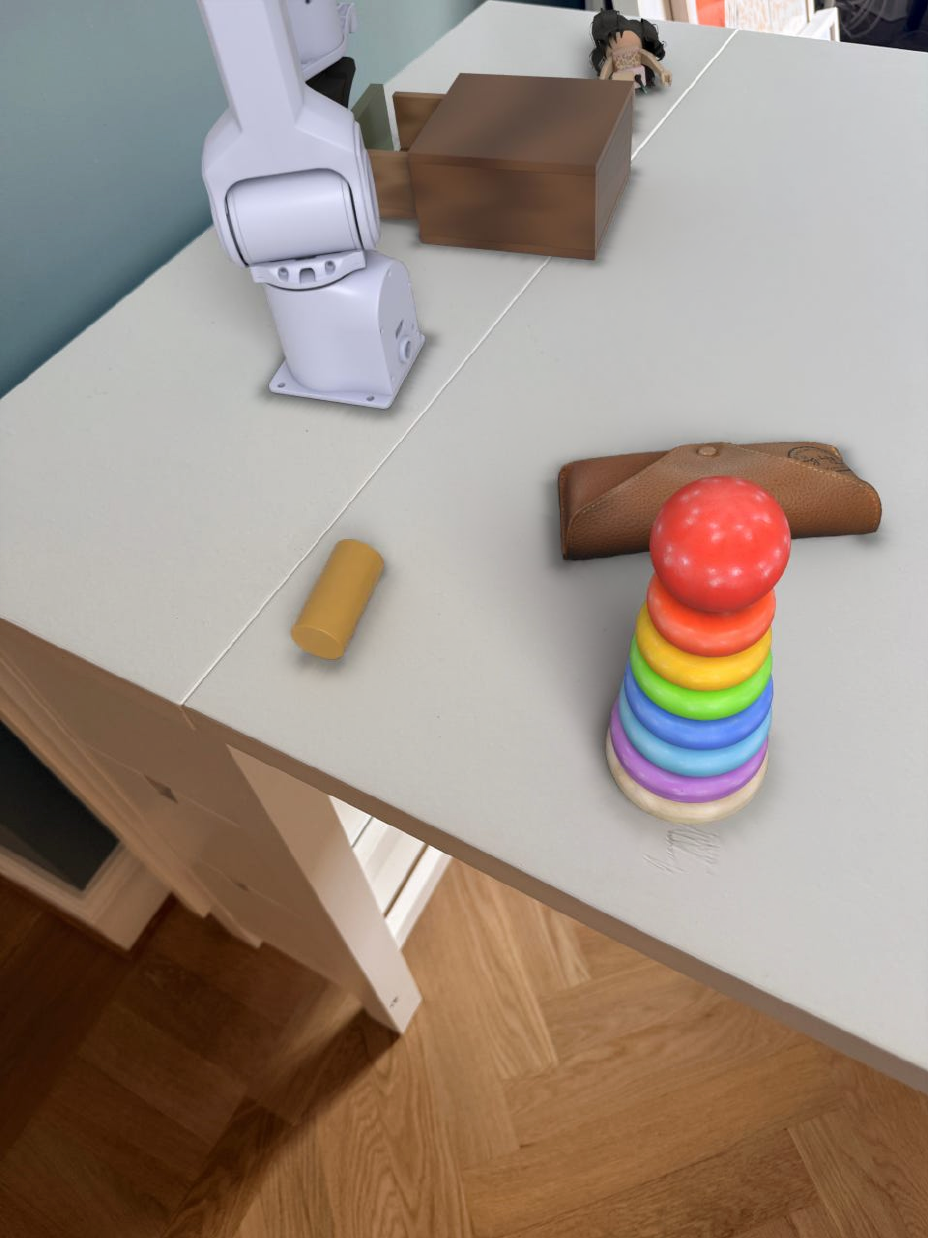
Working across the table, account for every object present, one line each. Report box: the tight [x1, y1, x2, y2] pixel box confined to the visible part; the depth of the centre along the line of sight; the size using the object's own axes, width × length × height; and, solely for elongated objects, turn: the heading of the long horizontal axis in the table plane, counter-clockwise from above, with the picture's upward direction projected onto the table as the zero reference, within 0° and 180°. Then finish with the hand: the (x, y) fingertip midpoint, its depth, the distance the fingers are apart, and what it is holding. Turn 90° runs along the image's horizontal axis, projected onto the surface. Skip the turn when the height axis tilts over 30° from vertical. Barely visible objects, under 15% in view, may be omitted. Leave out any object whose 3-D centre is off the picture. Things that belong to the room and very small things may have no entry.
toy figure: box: [588, 7, 673, 130], centre depth 85 cm, size 7×6×15 cm
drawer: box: [349, 82, 446, 221], centre depth 78 cm, size 18×11×6 cm, turn 71°
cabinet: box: [407, 72, 635, 261], centre depth 75 cm, size 15×13×8 cm
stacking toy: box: [605, 476, 792, 825], centre depth 40 cm, size 8×8×19 cm
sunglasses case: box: [557, 441, 883, 562], centre depth 55 cm, size 18×7×7 cm
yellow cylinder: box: [290, 538, 385, 660], centre depth 54 cm, size 3×6×3 cm, turn 162°
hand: (333, 158), depth 80 cm, fingers closed, pressing on drawer
